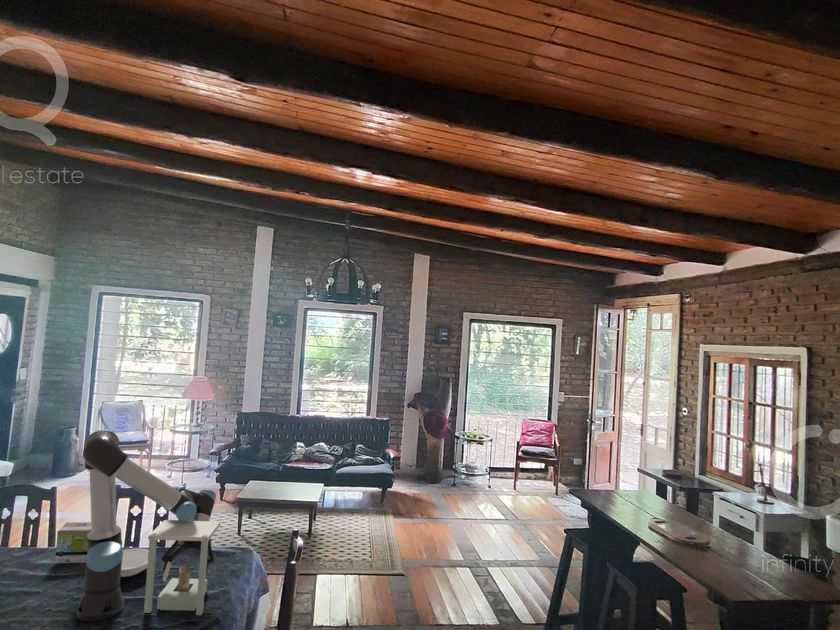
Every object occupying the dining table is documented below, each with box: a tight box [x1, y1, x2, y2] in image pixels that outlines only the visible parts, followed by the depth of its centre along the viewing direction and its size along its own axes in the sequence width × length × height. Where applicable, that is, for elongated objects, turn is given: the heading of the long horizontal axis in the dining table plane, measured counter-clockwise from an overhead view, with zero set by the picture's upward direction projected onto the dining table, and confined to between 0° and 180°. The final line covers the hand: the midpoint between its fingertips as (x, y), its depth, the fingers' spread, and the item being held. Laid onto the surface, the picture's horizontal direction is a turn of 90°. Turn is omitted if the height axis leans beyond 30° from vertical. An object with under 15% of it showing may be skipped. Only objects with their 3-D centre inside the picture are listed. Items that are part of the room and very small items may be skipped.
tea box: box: [54, 521, 91, 565], centre depth 230 cm, size 15×10×15 cm
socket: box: [143, 519, 221, 616], centre depth 202 cm, size 22×17×30 cm
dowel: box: [178, 564, 191, 592], centre depth 203 cm, size 4×4×12 cm
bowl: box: [121, 547, 149, 578], centre depth 220 cm, size 20×20×6 cm
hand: (182, 580), depth 201 cm, fingers open, 13 cm apart
